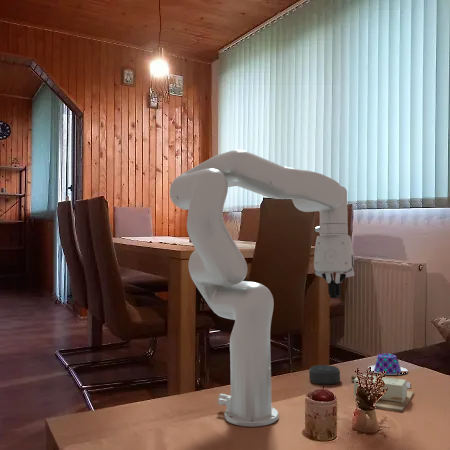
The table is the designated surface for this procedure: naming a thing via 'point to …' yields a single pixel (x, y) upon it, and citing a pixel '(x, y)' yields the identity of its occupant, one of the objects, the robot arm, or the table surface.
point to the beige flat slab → (394, 403)
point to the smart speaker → (324, 374)
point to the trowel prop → (356, 376)
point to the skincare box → (390, 389)
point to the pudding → (387, 364)
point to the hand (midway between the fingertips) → (334, 297)
